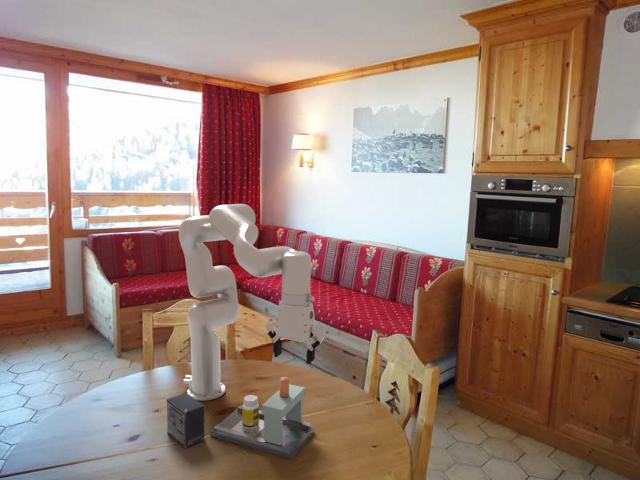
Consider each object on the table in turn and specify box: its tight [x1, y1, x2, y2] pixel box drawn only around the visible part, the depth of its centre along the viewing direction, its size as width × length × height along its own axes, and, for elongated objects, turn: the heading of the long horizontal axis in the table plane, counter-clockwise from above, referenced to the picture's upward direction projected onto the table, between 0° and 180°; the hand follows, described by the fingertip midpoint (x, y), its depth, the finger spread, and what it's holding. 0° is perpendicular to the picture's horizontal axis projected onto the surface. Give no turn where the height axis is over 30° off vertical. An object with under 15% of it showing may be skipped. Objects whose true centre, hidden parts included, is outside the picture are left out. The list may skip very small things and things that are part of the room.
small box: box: [166, 392, 205, 449], centre depth 130 cm, size 11×6×10 cm, turn 45°
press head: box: [261, 376, 306, 445], centre depth 128 cm, size 6×14×15 cm, turn 157°
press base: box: [209, 405, 315, 461], centre depth 132 cm, size 26×14×3 cm, turn 67°
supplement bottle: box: [241, 394, 260, 429], centre depth 133 cm, size 5×5×8 cm
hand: (293, 358), depth 125 cm, fingers open, 9 cm apart
